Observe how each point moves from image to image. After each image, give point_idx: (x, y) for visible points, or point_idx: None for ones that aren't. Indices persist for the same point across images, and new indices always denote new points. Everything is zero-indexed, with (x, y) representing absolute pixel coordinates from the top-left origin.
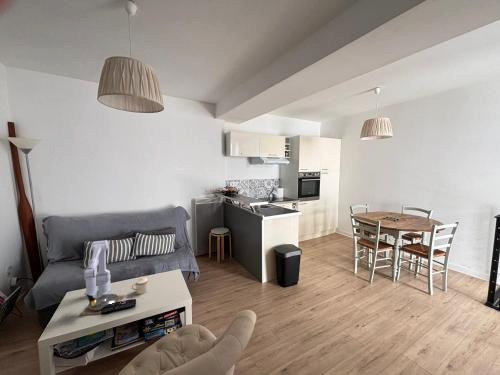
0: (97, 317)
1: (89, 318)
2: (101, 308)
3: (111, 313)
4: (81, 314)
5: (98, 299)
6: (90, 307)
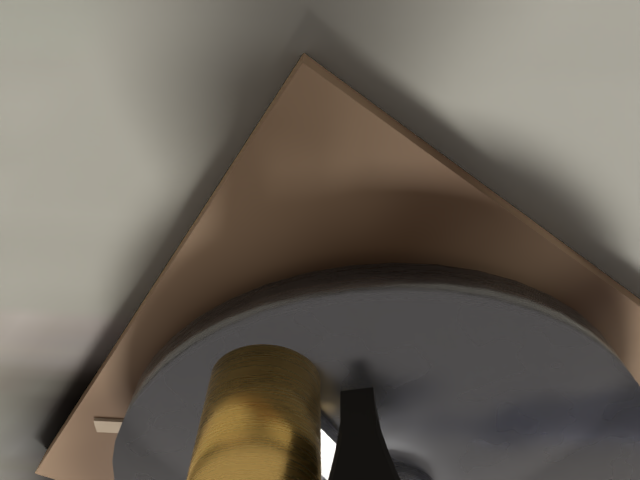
0: (3, 323)
1: (33, 221)
2: (115, 450)
3: (32, 452)
4: (276, 100)
5: (538, 451)
6: (294, 331)
